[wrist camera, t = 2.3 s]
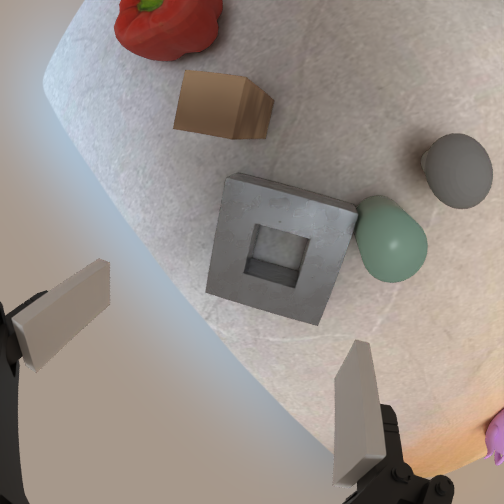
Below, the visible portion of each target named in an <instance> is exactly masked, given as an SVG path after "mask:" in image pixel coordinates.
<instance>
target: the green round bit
mask: <svg viewBox="0 0 504 504" xmlns="http://www.w3.org/2000/svg"><path fill="white" fill-rule="evenodd" d="M356 210H357V212H358V214H359V215H358V218H357V221H356V224H355V227H354V230H353V232H354V235H355V238H356V241H357V244H358V247H359V250H360V253H361V257H362V260H363V263H364V265H365V267H366V269H367V270H368V272H369V273H370V274H371V275H372V276H374V277H375V278H377V279H378V280H381V281H384V282H390V283H394V282H400V281H404V280H406V279H408V278H410V277H411V276H413V275H414V274H415V273H416V272H417V271H418V270H419V269H420V268H421V266H422V265H423V263H424V261H425V258H426V255H427V248H428V245H427V238H426V235H425V233H424V231H423V229H422V228H421V226H420V225H419V224H418V223H417V222H416V221H415V220H414V219H413V218H412V217H411V216H410V215H408V214H407V213H406V212H405V211H404V210H403V209H402V208H401V207H400V206H399V205H398V204H397V203H395V202H394V201H393V200H392V199H390V198H388V197H385V196H372V197H369V198H367V199H365V200H363V201H362V202H361V203H360V204H359V205H358V206H357V208H356Z"/></svg>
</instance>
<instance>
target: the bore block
mask: <svg viewBox="0 0 504 504" xmlns="http://www.w3.org/2000/svg"><path fill="white" fill-rule="evenodd" d="M358 215H359V214H358V212H357V210H356V208H355V206H354V204H351V203H347V202H344V201H341V200H337V199H334V198H331V197H327V196H324V195H321V194H317V193H314V192H310V191H307V190H303V189H299V188H296V187H292V186H288V185H285V184H281V183H277V182H273V181H270V180H266V179H262V178H258V177H254V176H250V175H246V174H241V173H236V174H233V175H231V176H229V177H227V178H226V181H225V186H224V191H223V196H222V201H221V207H220V212H219V217H218V223H217V228H216V234H215V239H214V245H213V250H212V256H211V262H210V268H209V274H208V280H207V286H206V293H209V294H212V295H215V296H218V297H221V298H224V299H228V300H231V301H234V302H237V303H241V304H244V305H247V306H250V307H254V308H257V309H260V310H264V311H267V312H271V313H274V314H277V315H281V316H284V317H288V318H291V319H295V320H298V321H302V322H306V323H309V324H313V325H317V326H318V324H319V322H320V319H321V317H322V314H323V312H324V309H325V307H326V304H327V302H328V299H329V297H330V294H331V291H332V289H333V286H334V284H335V281H336V278H337V275H338V273H339V270H340V267H341V265H342V262H343V259H344V256H345V253H346V250H347V248H348V245H349V242H350V239H351V236H352V233H353V230H354V227H355V224H356V221H357V218H358ZM260 225H263V226H267V227H270V228H274V229H277V230H281V231H285V232H288V233H292V234H295V235H299V236H302V237H306V238H308V242H307V245H306V248H305V252H304V255H303V258H302V261H301V265H300V268H299V271H296V270H292V269H289V268H285V267H282V266H278V265H275V264H271V263H268V262H264V261H261V260H257V259H254V258H252V256H253V251H254V247H255V243H256V239H257V235H258V230H259V226H260Z"/></svg>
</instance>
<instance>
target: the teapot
mask: <svg viewBox="0 0 504 504" xmlns="http://www.w3.org/2000/svg"><path fill="white" fill-rule="evenodd" d="M485 442H486V446H487V449H488V453H487V455H486V457H485V458H484V459H486V458H488V457H490V456H491V455H492V454H493V452H494V450H495V464H496V465H500V464H502V462H503V461H504V409H503V410H502V411H500V412H499V413H498V414H497V415H496V416H495V417H494V418H493V420H492V421H491V422H490V424H489V426H488V429H487V431H486V438H485ZM500 454H502V455H503V456H502V457H501V456H500Z"/></svg>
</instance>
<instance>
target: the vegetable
mask: <svg viewBox="0 0 504 504" xmlns="http://www.w3.org/2000/svg"><path fill="white" fill-rule="evenodd" d="M119 7H120V13H119V15H118V17H117V20H116V22H115V25H114V30H115V35H116V38H117V39H118V41H119V42H120V43H121V45H122V46H123V47H125V48H126V49H127V50H129V51H131V52H132V53H134V54H136V55H139V56H141V57H144V58H147V59H151V60H157V61H173V60H176V59H178V58H180V57H181V56H182V55H184V54H185V53H191V52H201V51H203V50H204V49H206V48H208V47H209V46H210V45H211V44H212V43H213V42H214V40H215V39H216V37H217V34H218V28H219V27H218V23H217V19H218V17H219V16H220V14H221V12H222V10H223V1H222V0H121V2H120V4H119Z"/></svg>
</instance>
